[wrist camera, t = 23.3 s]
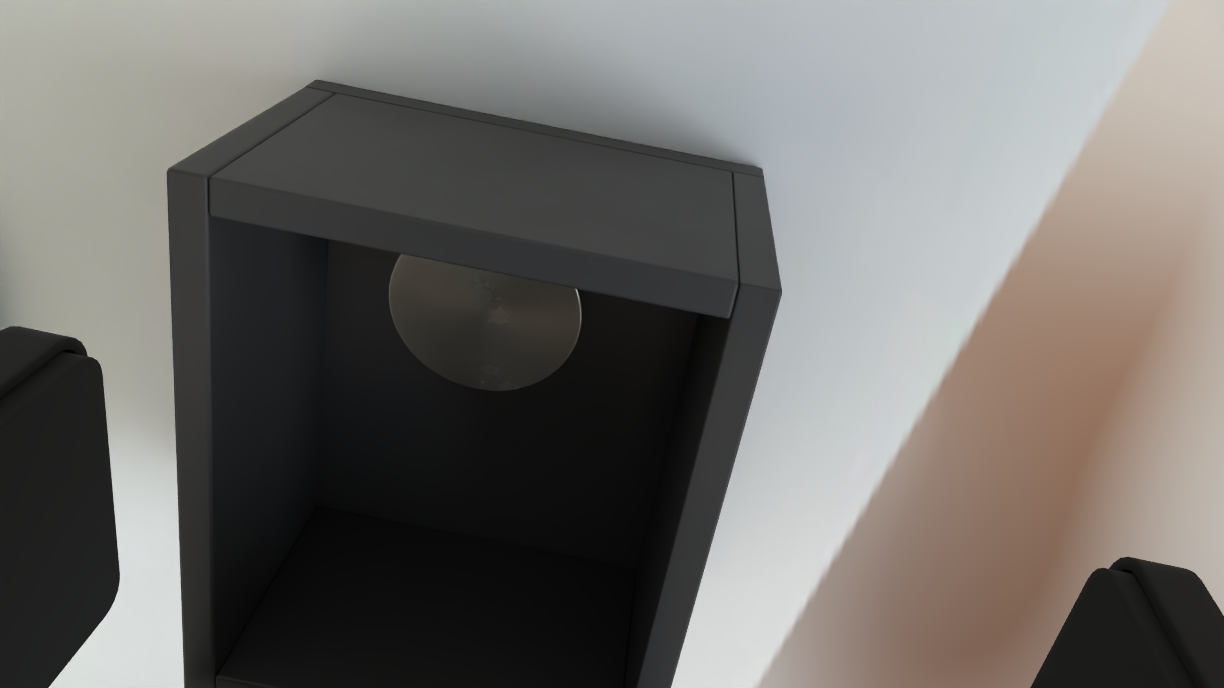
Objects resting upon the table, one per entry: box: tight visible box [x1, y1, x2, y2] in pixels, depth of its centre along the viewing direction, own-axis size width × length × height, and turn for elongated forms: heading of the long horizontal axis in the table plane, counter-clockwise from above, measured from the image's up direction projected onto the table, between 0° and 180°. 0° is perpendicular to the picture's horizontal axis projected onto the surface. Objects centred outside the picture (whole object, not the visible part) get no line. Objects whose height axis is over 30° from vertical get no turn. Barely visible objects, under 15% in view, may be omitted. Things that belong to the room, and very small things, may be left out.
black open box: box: [167, 80, 782, 688], centre depth 25 cm, size 14×12×8 cm
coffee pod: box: [388, 254, 583, 391], centre depth 24 cm, size 4×4×4 cm
